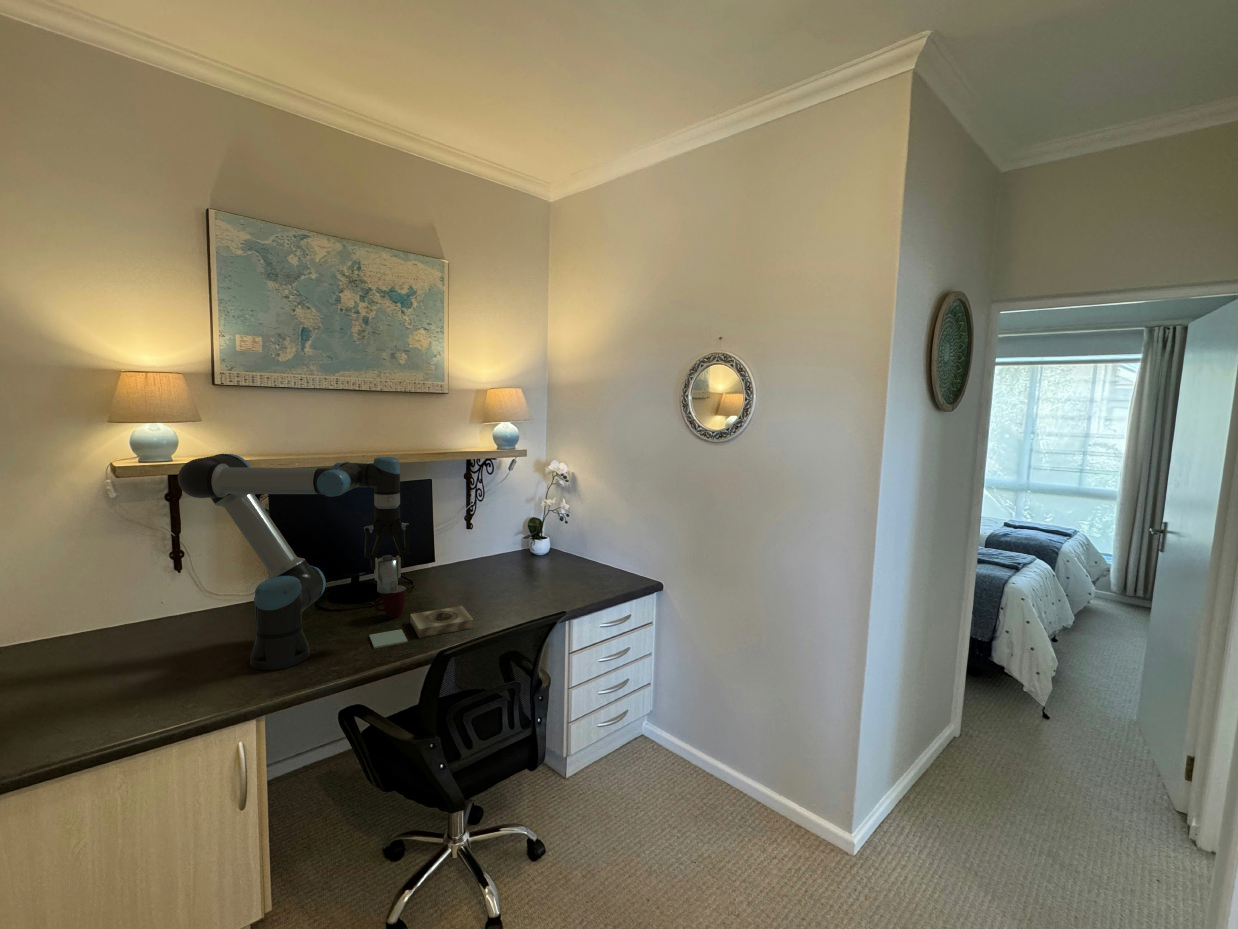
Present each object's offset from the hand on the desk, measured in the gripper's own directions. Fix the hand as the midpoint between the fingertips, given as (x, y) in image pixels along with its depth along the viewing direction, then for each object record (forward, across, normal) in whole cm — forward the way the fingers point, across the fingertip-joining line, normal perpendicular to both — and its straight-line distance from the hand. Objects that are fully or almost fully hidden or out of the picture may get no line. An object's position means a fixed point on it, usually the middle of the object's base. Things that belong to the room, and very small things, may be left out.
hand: (387, 577), depth 183 cm
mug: (+21, +4, +19) cm, 28 cm away
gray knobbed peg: (+4, 0, 0) cm, 4 cm away
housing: (+20, +18, +4) cm, 28 cm away
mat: (+21, 0, 0) cm, 21 cm away
